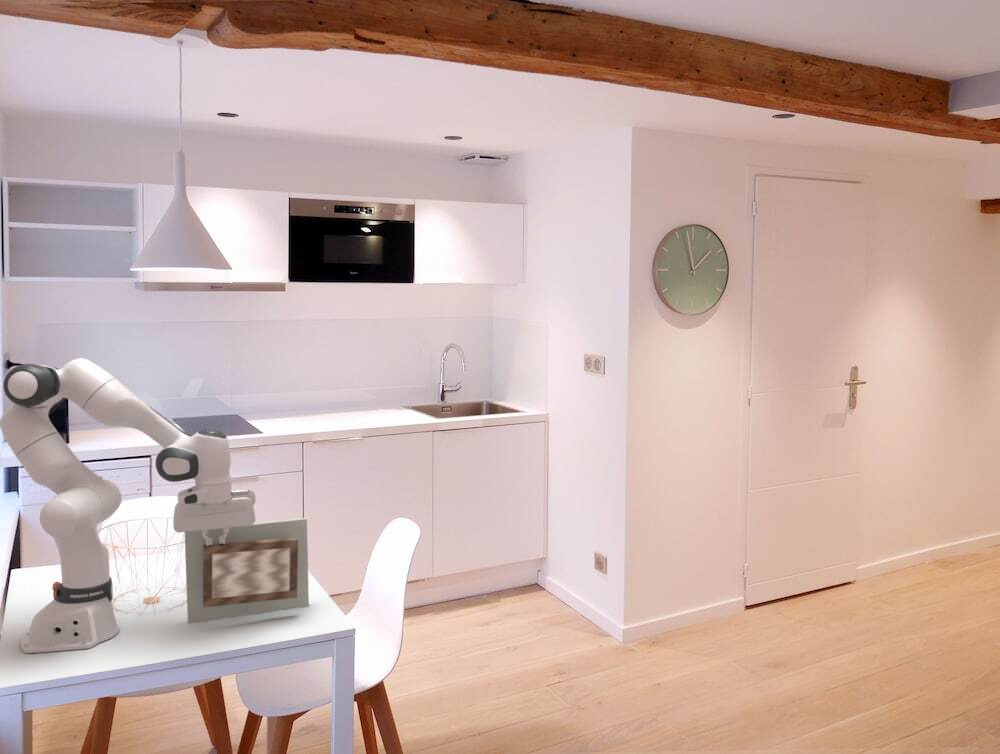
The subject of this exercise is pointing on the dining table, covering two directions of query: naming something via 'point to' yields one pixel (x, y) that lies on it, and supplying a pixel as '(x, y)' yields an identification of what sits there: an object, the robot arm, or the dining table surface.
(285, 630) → the dining table surface
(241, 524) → the robot arm
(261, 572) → the walnut frame
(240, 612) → the sage wall panel
